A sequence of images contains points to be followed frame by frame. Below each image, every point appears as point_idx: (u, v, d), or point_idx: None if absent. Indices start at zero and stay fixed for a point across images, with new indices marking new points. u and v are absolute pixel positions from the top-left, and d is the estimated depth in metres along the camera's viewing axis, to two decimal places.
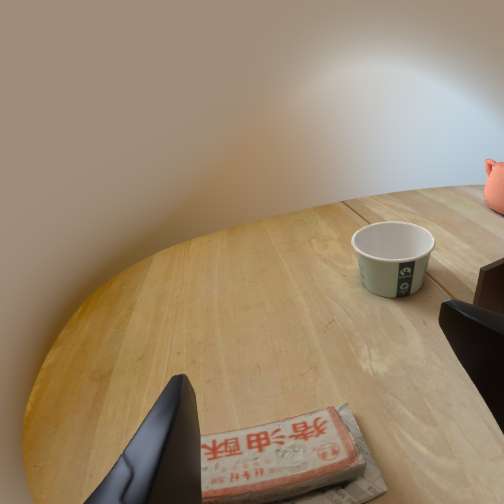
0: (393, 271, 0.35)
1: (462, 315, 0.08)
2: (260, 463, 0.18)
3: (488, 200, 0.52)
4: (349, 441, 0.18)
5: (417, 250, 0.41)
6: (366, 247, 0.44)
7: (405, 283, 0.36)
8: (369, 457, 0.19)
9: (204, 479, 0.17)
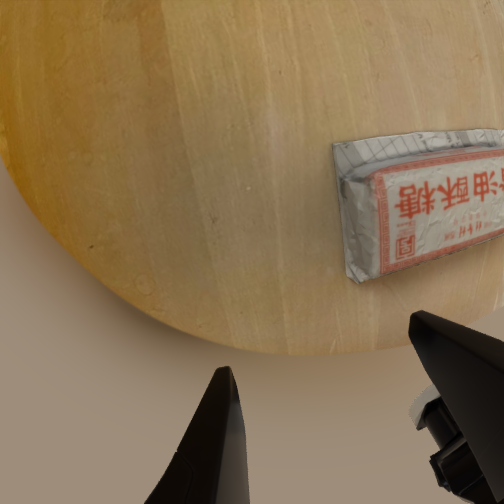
0: None
1: (430, 329, 0.08)
2: (480, 215, 0.17)
3: None
4: None
5: None
6: None
7: None
8: None
9: (438, 236, 0.17)
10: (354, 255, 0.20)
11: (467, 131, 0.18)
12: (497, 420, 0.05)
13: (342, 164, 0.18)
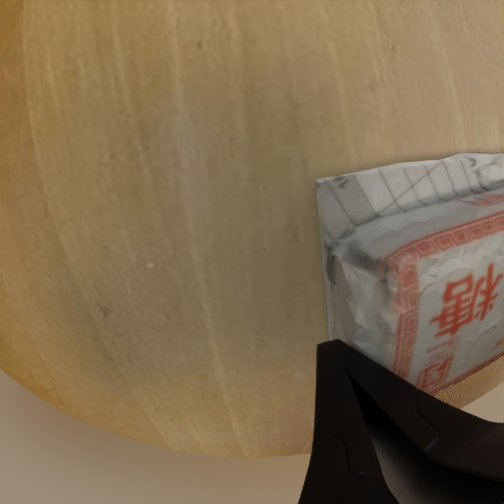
0: None
1: None
2: None
3: None
4: None
5: None
6: None
7: None
8: None
9: (487, 345, 0.08)
10: None
11: None
12: (404, 474, 0.05)
13: (332, 220, 0.09)
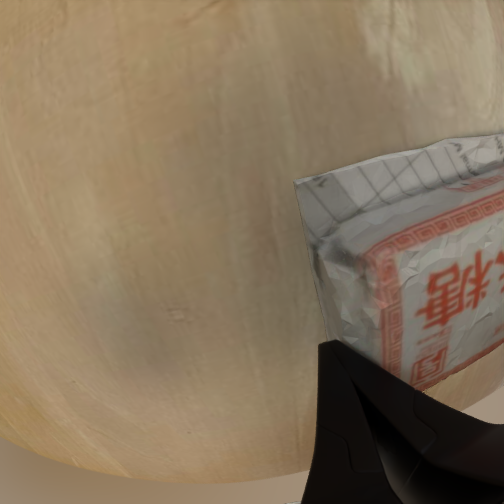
0: None
1: (336, 364, 0.08)
2: None
3: None
4: None
5: None
6: None
7: None
8: None
9: (485, 333, 0.08)
10: None
11: None
12: (402, 475, 0.05)
13: (314, 220, 0.10)
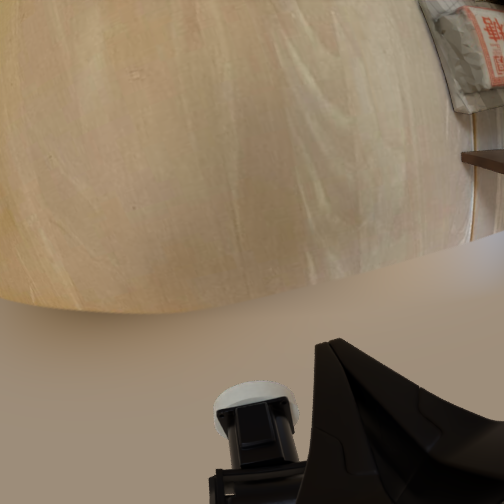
0: None
1: (340, 362, 0.08)
2: None
3: None
4: None
5: None
6: None
7: None
8: None
9: None
10: (461, 82, 0.16)
11: (502, 6, 0.13)
12: (406, 473, 0.05)
13: (431, 9, 0.14)
